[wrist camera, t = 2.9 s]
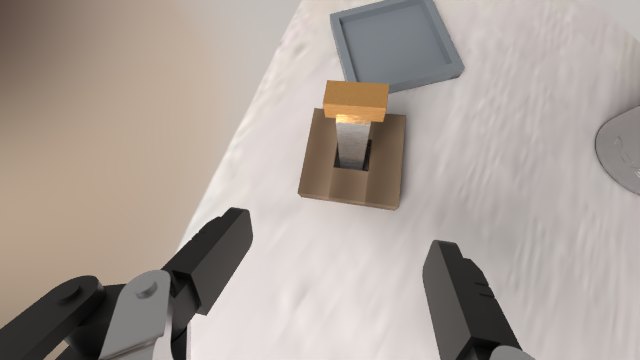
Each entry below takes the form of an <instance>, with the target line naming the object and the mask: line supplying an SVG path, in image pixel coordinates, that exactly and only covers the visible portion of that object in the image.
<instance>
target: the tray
mask: <svg viewBox="0 0 640 360" xmlns="http://www.w3.org/2000/svg"><path fill="white" fill-rule="evenodd" d="M330 24H331V28H332V32H333V36H334V40H335V44H336V47H337V51H338V55H339V59H340V63H341V66H342V70H343V74H344V78H345V81H347V82H365V83H382V84H389V90H388V93H393V92H397V91H401V90H406V89H410V88H414V87H419V86H423V85H427V84H432V83H436V82H440V81H445V80H449V79H453V78H458V77H459V76H460V74H461V73H462V71H463V69H464V66H463V63H462V61H461V59H460V57H459V55H458V53H457V51H456V49H455V47H454V44H453V42H452V40H451V38H450V36H449V34H448V32H447V30H446V28H445V26H444V23H443V21H442V19H441V17H440V15H439V13H438V11H437V9H436V7H435V4H434V2H433V0H384V1H381V2H377V3H373V4H369V5H365V6H361V7H357V8H353V9H349V10H345V11H342V12H338V13H334V14H330Z"/></svg>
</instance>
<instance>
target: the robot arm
mask: <svg viewBox="0 0 640 360" xmlns="http://www.w3.org/2000/svg"><path fill="white" fill-rule="evenodd" d="M596 150H597V155H598V158H599V160H600V162H601V164H602V166H603V167H604V168H605V170H606V171H607V172H608V174H609V175H610V176H612V177H613V178H614V179H615V180H616V181H617V182H618V183H620V184H621V185H622V186H624V187H625V188H627V189H628V190H630V191H632V192H634V193H637V194H639V195H640V105H639V106H637V107H635V108H633V109H631V110H629V111H627V112H625V113H623V114H621V115H619V116H617V117H615V118H613V119H611V120H609V121H608V122H607V123H605V124H604V125H603V126H602V128H601V129H600V130H599V132H598V135H597V138H596ZM252 240H253V232H252V225H251V219H250V213H249V211H248V210H247V209H240V208H234V207H231V208H229V209H228V210H227V211H226V212H225V214H224V215H223V216H222V217H219V216H218V217H216V218H215V219H213V220H211V221H209V222H208V223H206V224H205V225H204V226H203V227H202V228H201V229H200V230H199V233H197V234H196V235H195V236H194V237H193V238H192V240H190V241H189V242H188V243H187V244H186V245H185V246H184V247H183V248H182V249H181V250H180V251H179V252H178V253H177V254H176V255H175V256H174V257H173V258H172V259H171V260H170V261H169V262H168V263H167V264H166V265H165V266H164V267H163V268H162V269H160V270H153V271H149V272H146V273H143V274H141V275H139V276H137V277H136V278H134V279H133V280H131V281H130V282H129V283H128V284H118V285H108V286H102V285H101V283H100V282H99V280H98V279H97V278H96V277H95V276H80V277H77V278H74V279H71V280H68V281H67V282H64V283H62V284H60V285H59V286H57V287H55V288H54V289H52V290H51V291H50V292H48V293H47V294H46V295H45V296H43V297H42V298H40V299H39V300H38V301H37V302H35V303H34V304H33V305H32V306H30V307H29V308H27V309H26V310H25V311H24V312H22V313H21V314H20V315H19V316H17V317H16V318H15V319H13V320H12V321H11V322H9V323H8V324H7V325H5V326H4V327H3V328H1V329H0V360H43V359H44V358H45V357H46V356H47V355H48V354H49V353H50V352H51V351H52V350H53V349H54V348H55V347H56V346H57V345H58V344H60V343H61V342H62V341H63V340H65V341H66V343H67V344H69V346H68V347H67V348H66V349H65V350H64V351H63V352H62V353H61V354H60V355H59V356H58V357H57V358H56V359H55V360H190V353H191V322H190V320H191V319H192V318H193V316H194V315H195V313H198V314H202V315H206V316H207V314H208V312H209V311H210V309H211V308H212V306H213V305H214V303H215V301H216V300H217V298H218V297H219V295H220V294H221V292H222V291H223V289H224V287H225V286H226V284H227V283H228V281H229V280H230V278H231V277H232V275H233V273H234V272H235V270H236V269H237V267H238V266H239V264H240V263H241V261H242V259H243V258H244V256H245V255H246V253H247V252H248V250H249V248H250V247H251V244H252ZM423 283H424V288H425V292H426V297H427V301H428V306H429V310H430V314H431V319H432V323H433V328H434V332H435V337H436V341H437V346H438V350H439V355H440V359H441V360H535V359H534V358H533V357H531V356H530V355H528V354H527V353H525V352H523V350H522V348H521V347H520V345H519V343H518V341H517V339H516V337H515V335H514V333H513V331H512V329H511V327H510V325H509V323H508V321H507V319H506V317H505V316H504V314H503V312H502V310H501V308H500V306H499V304H498V302H497V300H496V299H495V298H494V297H495V296H494V294H493V292H492V290H491V288H490V287H489V284H488V282H487V280H486V278H485V276H484V274H483V272H482V271H481V270H480V269H479V268H478V267H477V266H476V265H475V263H474V262H473V261H472V260H471V259H467V258H463V256H462V254H461V252H460V249H459V247H458V245H457V244H456V243H452V242H446V241H440V240H434V241H433V242H432V244H431V247H430V250H429V252H428V255H427V258H426V260H425V263H424V266H423Z"/></svg>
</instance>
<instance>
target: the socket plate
mask: <svg viewBox="0 0 640 360" xmlns="http://www.w3.org/2000/svg"><path fill="white" fill-rule="evenodd" d="M405 118H406V115H395V114H385V116H384V120H383V122H375V121H371V125H370V130H369V136H368V141H367V147H370V154H369V163H368V171H360V170H352V169H343V168H335V166H336V160H337V154H338V139H337V129H336V118H327V117H325V113H324V109H318V108H314V113H313V118H312V123H311V128H310V133H309V138H308V143H307V148H306V153H305V158H304V163H303V168H302V173H301V178H300V183H299V188H298V194H299V195H300V196H301V197H305V198H312V199H319V200H326V201H333V202H340V203H347V204H354V205H361V206H367V207H374V208H381V209H388V210H396V209H397V208H398V207H399V197H400V183H401V170H402V157H403V144H404V131H405Z"/></svg>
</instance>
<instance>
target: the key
mask: <svg viewBox="0 0 640 360" xmlns="http://www.w3.org/2000/svg"><path fill="white" fill-rule="evenodd" d="M388 90H389V84H382V83H365V82H347V81H330V80H327V85H326V90H325V95H324V101H323V107H324V113H325V117H327V118H336V129H337V139H338V149H339V160H340V168H343V169H352V170H360V171H362V168H363V163H364V157H365V152H366V147H367V141H368V136H369V130H370V125H371V121H375V122H383V120H384V116H385V113H386V109H387V100H388Z"/></svg>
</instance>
